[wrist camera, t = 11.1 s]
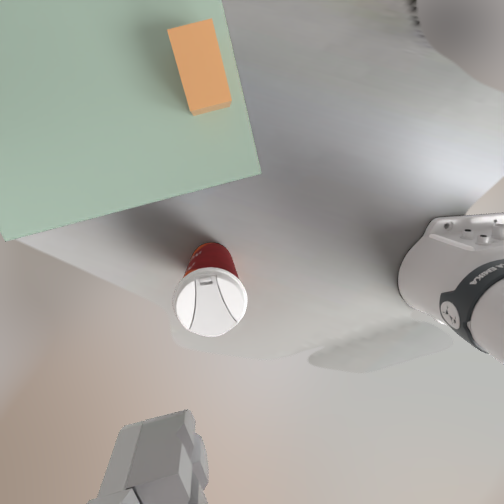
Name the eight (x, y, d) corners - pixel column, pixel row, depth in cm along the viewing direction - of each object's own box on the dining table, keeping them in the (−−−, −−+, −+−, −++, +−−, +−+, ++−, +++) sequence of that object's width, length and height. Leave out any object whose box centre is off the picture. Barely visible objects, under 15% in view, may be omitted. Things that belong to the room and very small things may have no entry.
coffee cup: (179, 238, 48) (164, 278, 34) (235, 231, 49) (244, 267, 35) (188, 290, 51) (178, 347, 37) (242, 283, 51) (252, 336, 37)
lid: (207, -51, 25) (205, -100, 20) (259, 172, 30) (268, 178, 25) (-95, 24, 24) (-175, -7, 19) (13, 237, 29) (-28, 256, 24)
